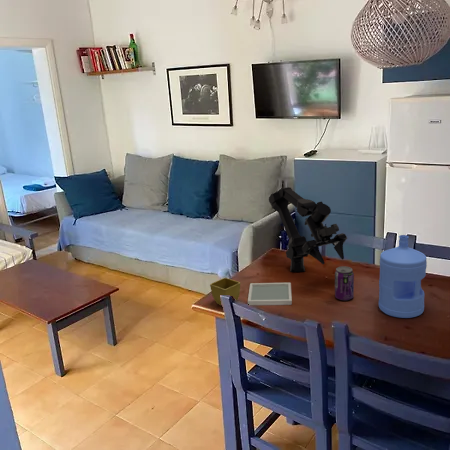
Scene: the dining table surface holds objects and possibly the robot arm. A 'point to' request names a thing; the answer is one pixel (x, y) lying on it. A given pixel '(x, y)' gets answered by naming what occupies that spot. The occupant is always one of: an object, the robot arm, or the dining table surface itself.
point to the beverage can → (344, 283)
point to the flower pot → (225, 289)
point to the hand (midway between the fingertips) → (333, 261)
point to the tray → (270, 294)
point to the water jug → (402, 280)
